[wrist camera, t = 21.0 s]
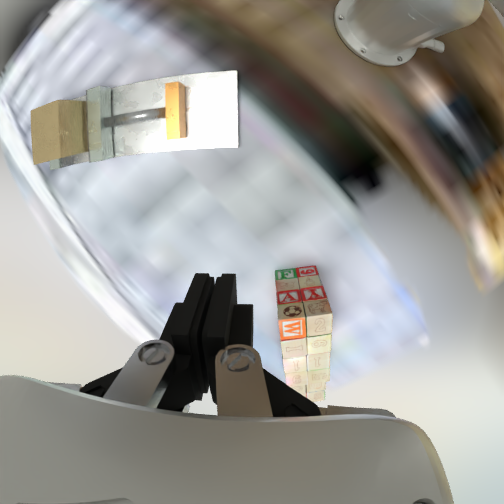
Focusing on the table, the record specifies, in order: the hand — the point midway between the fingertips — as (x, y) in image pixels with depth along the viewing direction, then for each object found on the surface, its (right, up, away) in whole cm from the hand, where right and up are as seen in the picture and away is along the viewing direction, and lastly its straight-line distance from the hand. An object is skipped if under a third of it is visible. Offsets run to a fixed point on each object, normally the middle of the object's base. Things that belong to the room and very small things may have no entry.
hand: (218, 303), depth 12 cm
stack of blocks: (+9, -10, +34) cm, 37 cm away
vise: (-14, +20, +21) cm, 32 cm away
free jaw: (-13, +20, +19) cm, 31 cm away
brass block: (-22, +20, +20) cm, 36 cm away
